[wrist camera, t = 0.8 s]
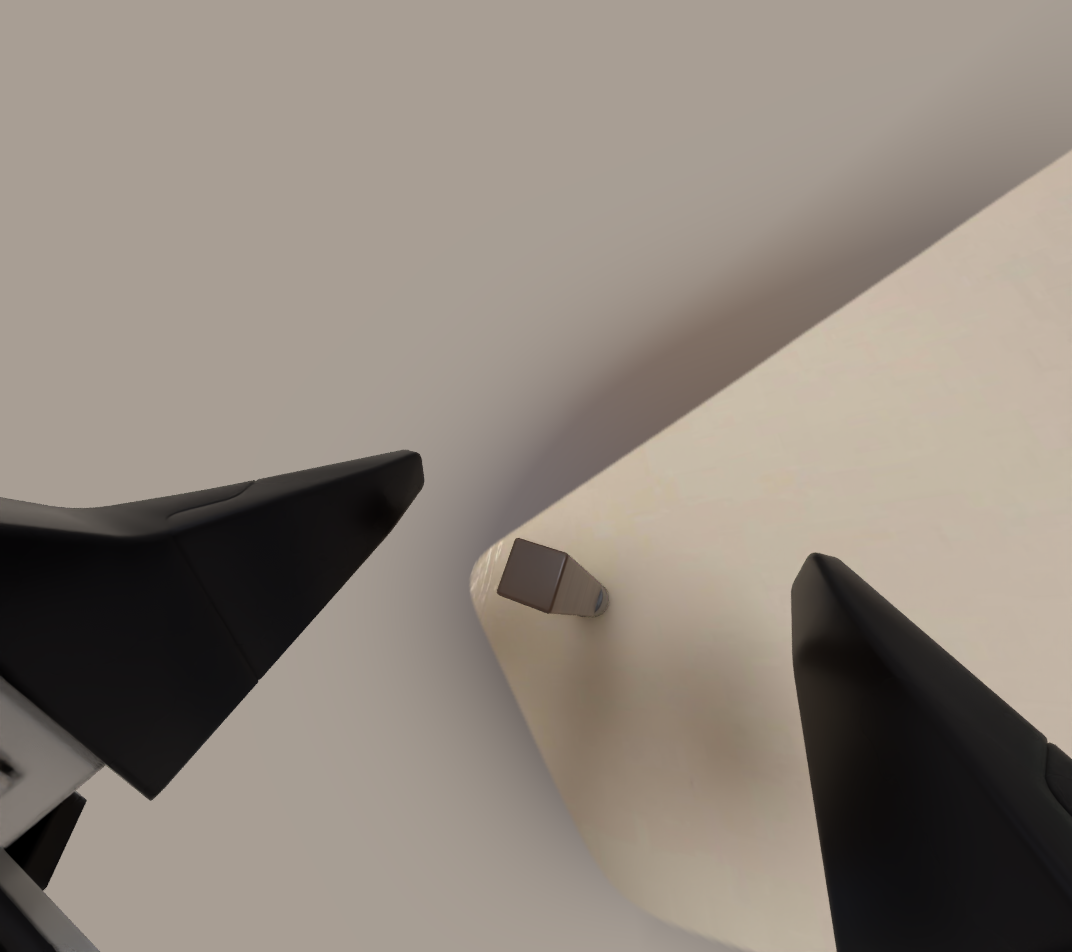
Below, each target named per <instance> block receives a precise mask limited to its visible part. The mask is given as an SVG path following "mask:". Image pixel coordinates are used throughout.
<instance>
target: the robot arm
mask: <svg viewBox="0 0 1072 952" xmlns="http://www.w3.org/2000/svg"><path fill="white" fill-rule="evenodd" d="M423 485H424V474H423V466H422V459H421V456H420V454H418V453H417V452H413V451H409V450H400V451H396V452H390V453H385V454H380V455H376V456H371V457H366V458H361V459H356V460H351V461H346V462H342V463H336V464H332V465H326V466H322V467H317V468H312V469H307V470H302V471H297V472H293V473H287V474H282V475H278V476H273V477H268V478H263V479H258V480H257V481H255V480H253V481H248V482H243V483H238V484H233V485H228V486H222V487H217V488H212V489H207V490H201V491H195V492H190V493H184V494H178V495H172V496H166V497H161V498H154V499H148V500H142V501H136V502H130V503H124V504H118V505H112V506H104V507H95V508H64V507H55V506H48V505H42V504H36V503H31V502H25V501H19V500H13V499H7V498H1V497H0V952H100V951H99V950H98V949H97V948H96V947H95V946H94V945H93V944H92V943H91V942H90V941H89V939H88V938H87V937H86V936H85V935H84V934H83V933H82V932H81V931H80V930H79V929H78V928H77V927H76V926H75V925H74V924H73V923H72V921H71V920H70V919H68V917H67V916H66V915H65V914H64V913H63V912H62V911H61V910H60V909H59V908H58V907H57V906H56V905H55V903H54V902H53V901H52V900H51V899H50V898H49V897H48V896H47V895H46V894H45V893H44V892H43V890H44V889H45V888H46V887H47V885H48V883H49V881H50V878H51V877H52V875H53V872H54V870H55V868H56V866H57V864H58V862H59V859H60V857H61V855H62V853H63V851H64V849H65V846H66V844H67V842H68V840H69V838H70V836H71V833H72V831H73V829H74V827H75V825H76V823H77V821H78V818H79V816H80V814H81V812H82V810H83V807H84V805H85V803H86V799H85V798H84V797H82V796H81V795H80V794H79V793H78V792H77V791H76V790H77V789H78V788H79V787H80V786H82V785H83V784H84V783H85V782H86V781H87V780H89V779H90V778H91V777H92V776H93V775H95V774H96V773H97V772H98V771H99V770H101V769H102V768H103V767H104V766H105V765H106V766H107V767H108V768H110V769H111V770H112V771H113V772H115V773H116V774H118V775H119V776H120V777H121V778H122V779H123V780H125V781H126V782H127V783H129V784H130V785H131V786H132V787H134V788H135V789H136V790H137V791H139V792H140V793H141V794H143V795H144V796H145V797H146V798H148V799H149V800H150V801H151V800H153V799H154V798H155V797H156V796H157V795H158V794H159V793H160V792H161V791H162V790H163V789H164V788H165V787H166V786H167V785H168V784H169V782H170V781H171V780H172V779H173V778H174V777H175V776H176V775H177V773H178V772H179V771H180V770H181V769H182V768H183V767H184V765H185V764H186V763H187V762H188V761H189V760H190V759H191V758H192V756H193V755H194V754H195V753H196V752H197V751H198V750H199V749H200V747H201V746H202V745H203V744H204V743H205V742H206V741H207V739H208V738H209V737H210V736H211V735H212V734H213V733H214V731H215V730H216V729H217V728H218V727H219V726H220V725H221V724H222V722H223V721H224V720H225V719H226V718H227V717H228V716H229V715H230V713H231V712H232V711H233V710H234V709H235V708H236V707H237V705H238V704H239V703H240V702H241V701H242V700H243V698H245V696H246V695H247V694H248V693H249V692H250V690H252V689H253V687H254V686H255V685H256V684H257V683H258V680H259V679H261V678H262V677H263V676H264V675H265V673H266V672H267V671H268V670H269V669H270V668H271V666H272V665H273V664H274V663H275V662H276V661H277V660H278V659H279V658H280V656H281V655H282V654H283V653H284V652H285V651H286V650H287V648H288V647H289V646H290V645H291V644H292V643H293V642H294V640H296V638H297V637H298V636H299V635H300V634H301V633H302V632H303V630H304V629H305V628H306V627H307V626H308V625H309V624H310V622H311V621H312V620H313V619H314V618H315V617H316V616H317V615H318V614H319V612H320V611H321V610H322V609H323V608H324V607H325V606H326V604H327V603H328V602H329V601H330V600H331V599H332V598H333V596H334V595H335V594H336V593H337V592H338V591H339V590H340V589H341V588H342V586H343V585H344V584H345V583H346V582H347V581H348V580H349V578H350V577H351V576H352V575H353V574H354V573H355V572H356V570H357V569H358V568H359V567H360V566H361V565H362V564H363V563H364V562H365V560H366V559H367V558H368V557H369V556H370V555H371V554H372V552H373V551H374V550H375V549H376V548H377V547H378V546H379V544H380V543H381V542H382V541H383V540H384V539H385V538H386V536H387V535H388V534H389V533H390V532H391V531H392V529H393V528H394V527H395V525H396V524H397V523H398V521H399V520H400V519H401V517H402V516H403V514H404V513H405V512H406V510H407V509H408V507H409V506H410V505H411V503H412V502H413V500H414V499H415V498H416V496H417V494H418V493H419V492H420V491H421V489H422V487H423ZM791 613H792V657H793V669H794V678H795V684H796V690H797V697H798V703H799V710H800V716H801V723H802V729H803V736H804V742H805V749H806V755H807V762H808V768H809V775H810V781H811V788H812V794H813V800H814V807H815V813H816V820H817V826H818V833H819V839H820V846H821V852H822V859H823V865H824V872H825V878H826V885H827V891H828V897H829V904H830V910H831V917H832V923H833V930H834V936H835V943H836V949H837V952H1072V759H1071V758H1070V757H1069V756H1068V755H1066V754H1065V753H1064V752H1063V751H1062V750H1061V749H1060V748H1058V747H1057V746H1056V745H1054V744H1052V743H1047V738H1046V737H1045V736H1044V735H1043V734H1042V733H1041V732H1040V731H1038V730H1037V729H1036V728H1035V727H1034V726H1033V725H1031V724H1030V723H1029V722H1028V721H1027V720H1026V719H1024V718H1023V717H1022V716H1021V715H1020V714H1019V713H1017V712H1016V711H1015V710H1014V709H1013V708H1012V707H1010V706H1009V705H1008V704H1007V703H1006V702H1005V701H1003V700H1002V699H1001V698H1000V697H999V696H998V695H997V694H995V693H994V692H993V691H992V690H991V689H990V688H988V687H987V686H986V685H985V684H984V683H983V682H981V681H980V680H979V679H978V678H977V677H976V676H974V675H973V674H972V673H971V672H970V671H969V670H967V669H966V668H965V667H964V666H963V665H962V664H960V663H959V662H958V661H957V660H956V659H955V658H954V657H952V656H951V655H950V654H949V653H948V652H947V651H945V650H944V649H943V648H942V647H941V646H940V645H938V644H937V643H936V642H935V641H934V640H933V639H931V638H930V637H929V636H928V635H927V634H926V633H924V632H923V631H922V630H921V629H920V628H919V627H917V626H916V625H915V624H914V623H913V622H912V621H911V620H909V619H908V618H907V617H906V616H905V615H904V614H902V613H901V612H900V611H899V610H898V609H897V608H895V607H894V606H893V605H892V604H891V603H890V602H888V601H887V600H886V599H885V598H884V597H883V596H881V595H880V594H879V593H878V592H877V591H876V590H874V589H873V588H872V587H871V586H870V585H869V584H868V583H866V582H865V581H864V580H863V579H862V578H861V577H859V576H858V575H857V574H856V573H855V572H854V571H852V570H851V569H850V568H849V567H848V566H847V565H845V564H844V563H843V562H842V561H841V560H839V559H838V558H836V557H832V556H828V555H824V554H820V553H812V554H810V555H809V556H808V557H807V559H806V561H805V562H804V564H803V566H802V568H801V570H800V571H799V573H798V575H797V577H796V579H795V581H794V583H793V585H792V590H791Z"/></svg>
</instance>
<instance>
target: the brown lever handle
mask: <svg viewBox="0 0 1072 952" xmlns="http://www.w3.org/2000/svg"><path fill="white" fill-rule="evenodd" d="M497 594H498V595H500V596H503V597H505V598H508V599H510V600H513V601H516V602H518V603H521V604H524V605H526V606H529V607H532V608H534V609H537V610H539V611H542V612H545V613H547V614H562V615H577V616H581V617H596V616H599V615H601V614H602V613H603V612H604V611H605V610H606V608H607V606H608V601H609V598H608V593H607V591H606V589H605V588H604V586H603V585H602V584H601V583H600V582H599V581H597V580H596V579H595V578H594V577H593V576H592V575H591V574H590V573H588V572H587V571H586V570H585V569H584V568H583V567H582V566H581V565H579V564H578V563H577V562H576V561H575V560H574V559H573V558H572V557H570V556H569V555H568V554H567V553H565V552H562V551H558V550H555V549H552V548H549V547H546V546H543V545H539V544H536V543H533V542H530V541H527V540H524V539H520V538H516V539H515V541H514V544H513V547H512V549H511V552H510V555H509V558H508V561H507V564H506V566H505V569H504V572H503V575H502V578H501V581H500V584H499V586H498V589H497Z"/></svg>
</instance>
